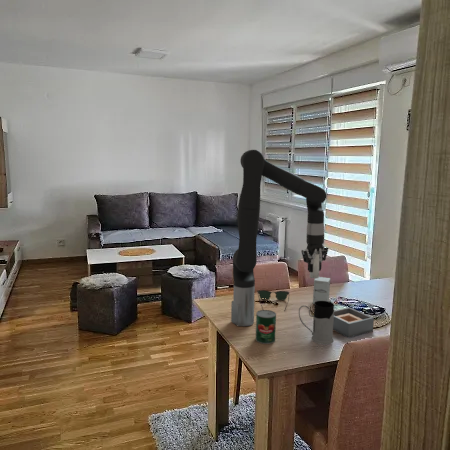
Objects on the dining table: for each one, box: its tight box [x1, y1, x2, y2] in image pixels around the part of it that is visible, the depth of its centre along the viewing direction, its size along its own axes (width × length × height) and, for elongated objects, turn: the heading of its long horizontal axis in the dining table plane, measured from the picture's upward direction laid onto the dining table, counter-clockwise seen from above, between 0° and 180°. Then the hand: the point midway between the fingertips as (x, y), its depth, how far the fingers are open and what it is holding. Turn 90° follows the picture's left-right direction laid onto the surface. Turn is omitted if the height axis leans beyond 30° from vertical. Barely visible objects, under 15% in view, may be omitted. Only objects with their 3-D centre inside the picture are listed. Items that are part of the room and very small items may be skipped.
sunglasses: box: [256, 289, 290, 312], centre depth 201 cm, size 16×17×5 cm
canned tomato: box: [255, 309, 277, 345], centre depth 161 cm, size 8×8×11 cm
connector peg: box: [309, 251, 320, 279], centre depth 178 cm, size 4×4×12 cm
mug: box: [298, 301, 335, 345], centre depth 162 cm, size 9×14×15 cm, turn 81°
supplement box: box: [312, 276, 331, 305], centre depth 204 cm, size 7×7×13 cm
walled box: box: [333, 307, 375, 339], centre depth 173 cm, size 14×14×6 cm
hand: (314, 270), depth 179 cm, fingers closed on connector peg, 4 cm apart
